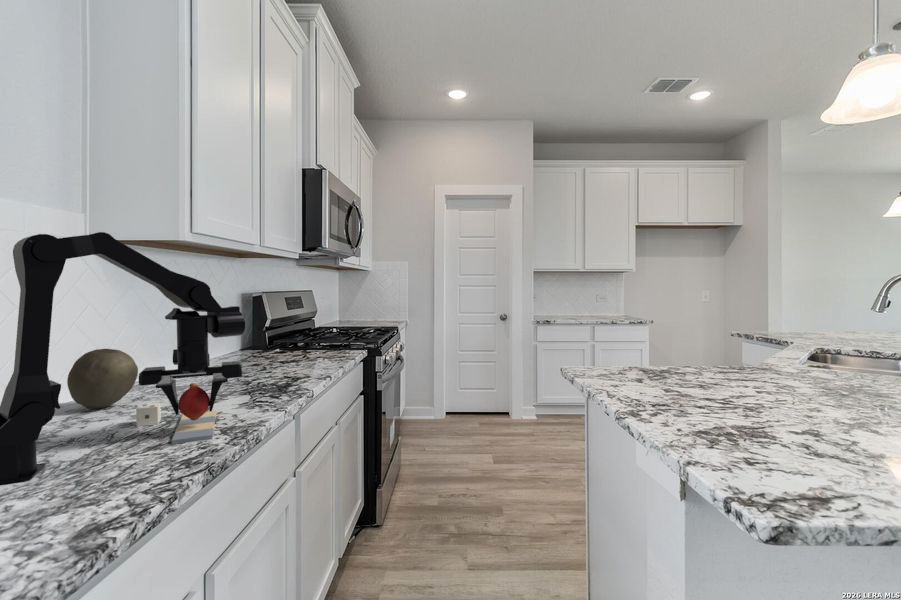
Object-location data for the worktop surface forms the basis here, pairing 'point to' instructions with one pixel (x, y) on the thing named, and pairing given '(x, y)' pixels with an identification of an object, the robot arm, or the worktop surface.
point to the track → (195, 428)
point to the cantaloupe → (101, 377)
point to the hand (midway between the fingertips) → (194, 412)
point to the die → (148, 414)
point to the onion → (194, 402)
